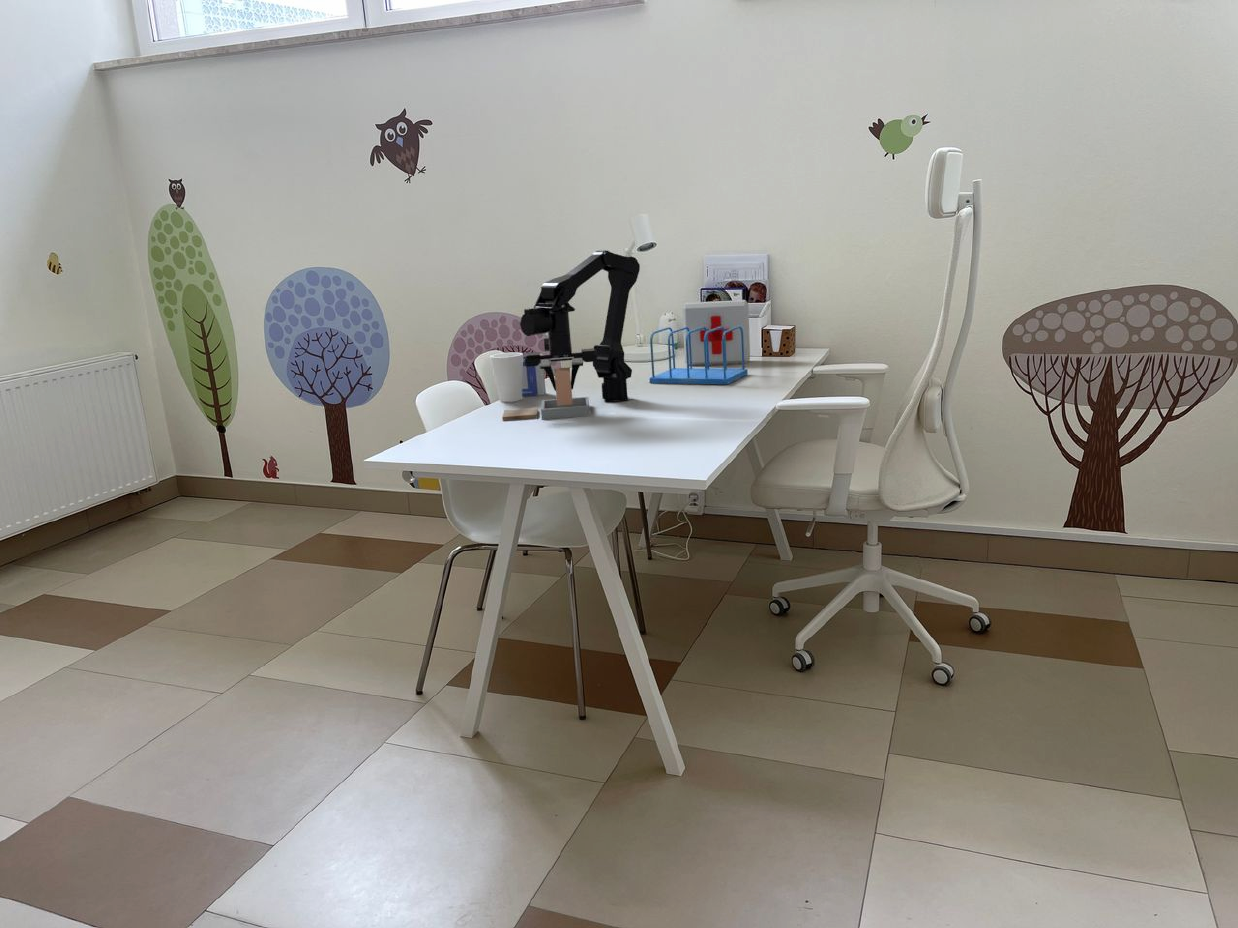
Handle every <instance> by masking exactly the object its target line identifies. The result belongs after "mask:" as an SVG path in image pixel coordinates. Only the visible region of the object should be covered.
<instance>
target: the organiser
mask: <svg viewBox="0 0 1238 928" xmlns="http://www.w3.org/2000/svg"><path fill="white" fill-rule="evenodd" d="M589 399H590V398H589V396H584V397H583V396H580V397H572V402H573V404H572V405H559V406H557V398H556V399H555V398H554V399H542V400H541V406H540V407H541V408H540V415H541V420H549V419H561V418H562V419H563V418H575V417H586V416H587V417H588V416H591V408H590V400H589Z"/></svg>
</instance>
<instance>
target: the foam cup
mask: <svg viewBox="0 0 1238 928" xmlns="http://www.w3.org/2000/svg"><path fill="white" fill-rule="evenodd" d="M523 355H524V353H523V352H516V351H515V352H514V351H513V352H501V353H496V354H492V355H489V362H490V365H491V369H492V372H493V377H494V381H495V386H496V390H497V393H498V397H499V401H500V402H503V403H509V402H511V403H512V402H517V401H521V400H522V399H523V396H522V379H523V362H524V360H523Z"/></svg>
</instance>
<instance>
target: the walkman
mask: <svg viewBox="0 0 1238 928" xmlns="http://www.w3.org/2000/svg"><path fill="white" fill-rule="evenodd" d="M540 355H543V354H542V353H540ZM525 356H526V354H523V360H524V362H523V379H522V397H529V396H530V397H532V396H534V397H535V396H544V395H546V393H547V391H546V379H545V370H544V369H540V364H539V365H538V366H530V367H526V366H525Z"/></svg>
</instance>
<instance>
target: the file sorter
mask: <svg viewBox="0 0 1238 928" xmlns="http://www.w3.org/2000/svg"><path fill="white" fill-rule="evenodd" d="M738 328H739V329H740V331H741V343H742V364H741V366H742V368H727V366H728V364H727V361H726V336H725V334H726V333H728V332H730V331H733V330H735V329H738ZM684 329H687V330H688V333H687V335H686V358H687V364H686V367H685V368H683V367H682V368H679V367H678V368H677V367H676V359H675V358H676V356H675V342H674V341H675V339H674V333H678V332H681V331H683V330H684ZM701 329H705V332H706V333H705V336H704V356H705V365H704V367H703V368H702V367H699V368H696V367H693V366H692V354H691V335H690V333H692V332H695V331H698V330H701ZM718 329H722V330H723V337H722V349H723V364H722V366H723V368H710V365H709V348H708V333H710V332H713V331H715V330H718ZM666 330H669V331H670V332H669V334H668V338H667V348H668V349H667V350H668V367H669V368H668V369H667V370H665V371H663V372H659V373H658V374H656V375H655V363H654V362H655V361H654V345H653V340H654V339H653V337H654V335H656V334H658V333H661V332H663V331H666ZM688 336H689V354H690V366H689V354H688ZM649 341H650V342H649V343H650V361H651V377H649V383H650V384H682V385H683V384H684V385H685V384H686V385H689V384H691V385H692V384H693V385H729V384H730V383H732V382H734V381H736V380H738V379H741V378H742V377H744V376H747V375H748V373H749V372H748V368H745V363H744V341H743V330H742V328H741V327H740V326H738V327H735V328H732V329H729V330H727V331H725V330H724V327H718V328H715V329H712V330H709V331H707V329H706V327H701V328H698V329H695V330H692V331H690V330H689V328H688V327H684V328H683V327H681V328H678V329H675V330H673V329H672V328H671V327H669V326H668V327H665V328H662V329H658V330H655V331H652V333H651V335H650V339H649ZM671 350H672V351H671ZM706 350H707V354H706ZM671 353H672V355H671ZM672 364H673V365H672ZM672 366H673V367H672Z"/></svg>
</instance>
